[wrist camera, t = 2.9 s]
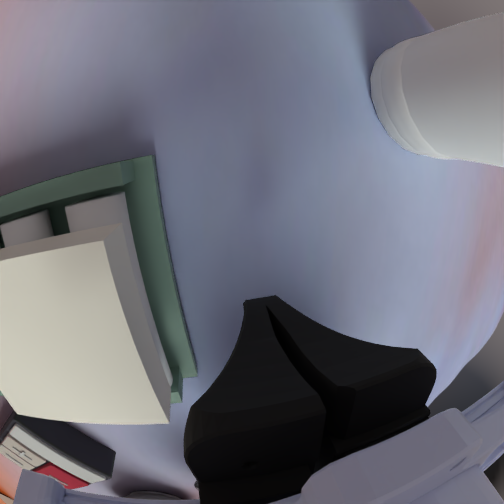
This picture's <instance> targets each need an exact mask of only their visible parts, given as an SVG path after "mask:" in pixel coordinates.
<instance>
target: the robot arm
mask: <svg viewBox="0 0 504 504" xmlns="http://www.w3.org/2000/svg"><path fill="white" fill-rule="evenodd" d="M243 306H244V317H243V322H242V327H241V331H240V334H239V337H238V340H237V343H236V345H235V348H234V350H233V352H232V354H231V356H230V358H229V360H228V362H227V364H226V365H225V367H224V369H223V370H222V372H221V373H220V375H219V376H218V377H217V379H216V380H215V381H214V383H213V384H212V385H211V386H210V388H209V389H208V390H207V391H206V392H205V393H204V394H203V395H202V396H201V397H200V398H199V399H198V400H197V401H196V402H195V403H194V404H193V405H192V406H191V408H190V411H189V415H188V418H187V422H186V427H185V433H184V458H185V461H186V464H187V465H188V467H189V468H190V470H191V472H192V473H193V475H194V476H195V478H196V479H197V481H198V486H199V497H200V499H195V500H148V499H132V498H121V497H112V496H105V495H98V494H92V493H86V492H80V491H75V490H71V489H66V488H64V486H63V485H62V484H61V483H59V482H58V481H57V480H55V479H54V478H52V477H50V476H47V475H45V474H41V473H37V472H34V471H30V470H27V469H22V473H21V476H20V479H19V483H18V487H17V490H16V494H15V498H14V502H13V504H504V501H503V499H502V498H501V497H500V495H499V494H498V492H497V491H496V489H495V488H494V487H493V485H492V484H491V483H490V481H489V480H488V478H487V477H486V476H485V474H484V473H483V471H485V470H486V469H487V468H488V467H489V466H490V465H491V464H492V463H493V462H495V461H496V460H497V459H498V458H499V457H500V456H501V455H502V454H503V453H504V381H503V382H502V383H500V384H499V385H498V386H497V387H495V388H494V389H493V390H492V391H490V392H489V393H488V394H487V395H485V396H484V397H483V398H481V399H480V400H479V401H477V402H476V403H474V404H473V405H472V406H470V407H469V408H467V409H466V410H464V411H463V412H460V411H459V410H458V409H456V408H452V409H448V410H446V411H444V412H441V413H439V414H437V415H435V416H433V417H432V418H430V419H429V418H428V416H429V415H430V410H429V409H428V407H427V406H426V405H425V404H426V402H427V400H428V397H429V395H430V393H431V391H432V389H433V386H434V383H435V380H436V368H435V367H434V365H433V364H432V363H431V362H430V361H429V360H428V359H427V358H426V357H425V356H424V355H423V354H422V353H421V352H420V351H419V350H418V349H413V348H401V347H391V346H385V345H379V344H374V343H370V342H366V341H362V340H359V339H355V338H352V337H349V336H346V335H343V334H341V333H338V332H336V331H334V330H331V329H329V328H327V327H325V326H323V325H321V324H319V323H317V322H315V321H313V320H311V319H310V318H308V317H306V316H305V315H303V314H302V313H300V312H299V311H297V310H296V309H294V308H293V307H291V306H290V305H288V304H287V303H286V302H284V301H283V300H282V299H280V298H279V297H277V296H276V295H274V296H268V297H262V298H256V299H250V300H245V302H244V303H243Z"/></svg>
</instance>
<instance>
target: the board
mask: <svg viewBox="0 0 504 504" xmlns="http://www.w3.org/2000/svg"><path fill="white" fill-rule="evenodd" d="M0 391H1V392H2V394H3V395H4V397H5V398H6V399H7V401H8V402H9V404H10V405H11V406H12V408H13V409H14V410H15V412H16V413H17V414H19V415H25V416H30V417H36V418H43V419H50V420H58V421H67V422H78V423H92V424H118V425H142V424H168V423H169V421H170V401H171V388H170V385H169V383H168V380H167V377H166V375H165V372H164V369H163V367H162V364H161V361H160V358H159V356H158V353H157V350H156V347H155V344H154V341H153V338H152V335H151V332H150V329H149V326H148V323H147V319H146V316H145V313H144V309H143V306H142V303H141V299H140V296H139V292H138V288H137V285H136V281H135V277H134V273H133V269H132V265H131V261H130V257H129V253H128V248H127V244H126V239H125V235H124V230H123V225H122V223H118V224H113V225H107V226H102V227H97V228H92V229H87V230H82V231H77V232H72V233H67V234H62V235H58V236H53V237H48V238H44V239H39V240H35V241H31V242H26V243H22V244H18V245H14V246H10V247H6V248H2V249H0Z"/></svg>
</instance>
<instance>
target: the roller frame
mask: <svg viewBox="0 0 504 504" xmlns="http://www.w3.org/2000/svg"><path fill="white" fill-rule="evenodd" d="M118 223H122V225H123V230H124V235H125V239H126V244H127V248H128V253H129V257H130V261H131V265H132V269H133V273H134V277H135V281H136V285H137V288H138V292H139V296H140V299H141V303H142V306H143V309H144V313H145V316H146V319H147V323H148V326H149V329H150V332H151V335H152V338H153V341H154V344H155V347H156V350H157V353H158V356H159V358H160V361H161V364H162V367H163V369H164V372H165V375H166V377H167V380H168V383H169V385H170V388H171V401H170V404H171V403H182V389H183V378H187V377H196V376H198V375H197V366H196V362H195V359H194V355H193V351H192V348H191V344H190V340H189V336H188V332H187V328H186V324H185V320H184V316H183V312H182V308H181V304H180V299H179V295H178V290H177V286H176V281H175V276H174V272H173V267H172V262H171V257H170V252H169V246H168V241H167V236H166V230H165V224H164V218H163V212H162V206H161V200H160V193H159V186H158V179H157V172H156V164H155V156H154V155H149V156H144V157H139V158H134V159H129V160H124V161H119V162H115V163H110V164H106V165H102V166H98V167H94V168H90V169H86V170H82V171H78V172H74V173H71V174H67V175H64V176H60V177H57V178H53V179H50V180H47V181H44V182H40V183H37V184H34V185H31V186H28V187H25V188H22V189H20V190H17V191H14V192H11V193H8V194H6V195H3V196H0V249H2V248H6V247H10V246H14V245H18V244H22V243H26V242H31V241H35V240H39V239H44V238H48V237H53V236H58V235H62V234H67V233H72V232H77V231H82V230H87V229H92V228H97V227H102V226H107V225H113V224H118ZM0 396H4V395H3V394H2V392H1V391H0Z"/></svg>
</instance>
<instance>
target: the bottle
mask: <svg viewBox="0 0 504 504" xmlns="http://www.w3.org/2000/svg"><path fill="white" fill-rule="evenodd" d="M370 80H371V98H372V101H373V104H374V107H375V110H376V113H377V116H378V119H379V120H380V122H381V123H382V125H383V127H384V128H385V130H386V131H387V133H388V135H389V136H390V137H391V138H392V139H393V140H394V141H395V142H396V143H398V144H399V145H400V146H401V147H402V148H403V149H405V150H407V151H410V152H412V153H415V154H417V155H426V156H429V157H432V158H437V159H458V160H465V161H471V162H477V163H483V164H489V165H494V166H499V167H504V12H502V13H498V14H493V15H489V16H484V17H480V18H477V19H473V20H469V21H465V22H462V23H459V24H456V25H452V26H449V27H446V28H443V29H440V30H437V31H434V32H431V33H428V34H425V35H422V36H418V37H414V38H410V39H407V40H404V41H402V42H400V43H398V44H396V45H395V46H394V47H392V48H389V49H387V50H385V51H384V52H383V53H382V54H381V55H380V56H379V57H378V58H377V60H376V61H375V63H374V67H373V70H372V74H371V77H370Z"/></svg>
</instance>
